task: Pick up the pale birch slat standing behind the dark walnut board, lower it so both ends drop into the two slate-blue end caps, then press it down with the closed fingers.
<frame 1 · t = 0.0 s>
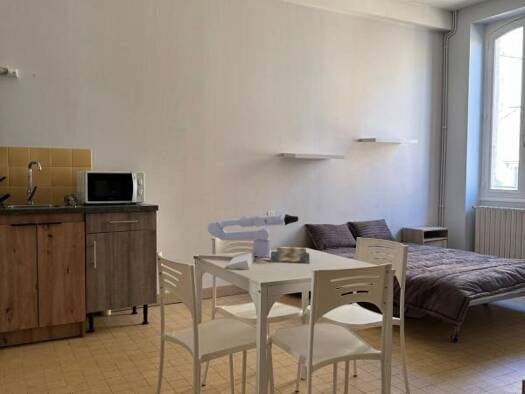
hand: (298, 219, 287), 22 cm above the table, tool horizontal, fingers open, 7 cm apart
slat: (291, 258, 285), on the table
decorative molding: (241, 265, 263), on the table
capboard: (290, 261, 274), on the table
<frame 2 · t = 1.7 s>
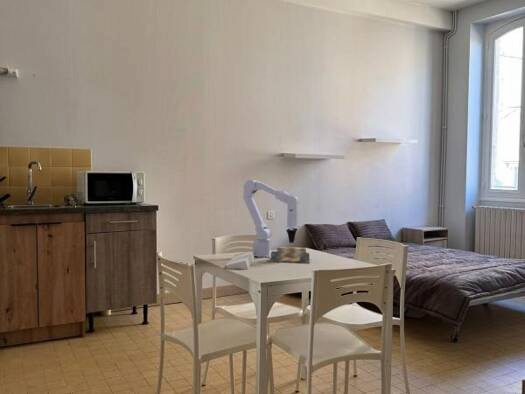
hand: (291, 242, 285), 9 cm above the table, tool pointing down, fingers open, 7 cm apart
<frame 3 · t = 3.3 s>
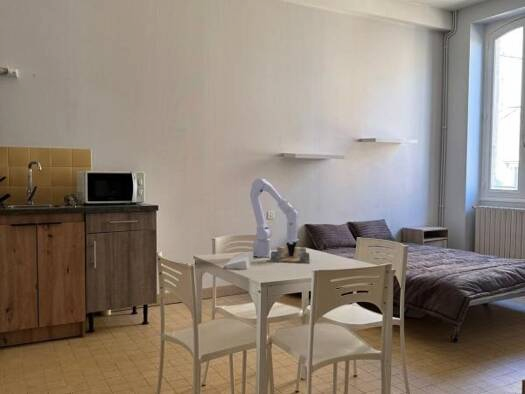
hand: (291, 255, 285), 1 cm above the table, tool pointing down, fingers closed on slat, 2 cm apart
slat: (291, 258, 285), on the table, touching gripper
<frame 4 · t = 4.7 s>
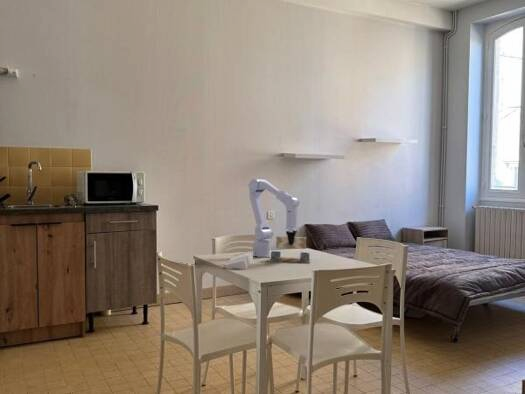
hand: (291, 244, 278), 8 cm above the table, tool pointing down, fingers closed on slat, 2 cm apart
slat: (291, 248, 278), point 6 cm above the table, touching gripper
when the fingers open (3 cm above the table, at t = 6.4 s): slat stays where it is, resting on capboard.
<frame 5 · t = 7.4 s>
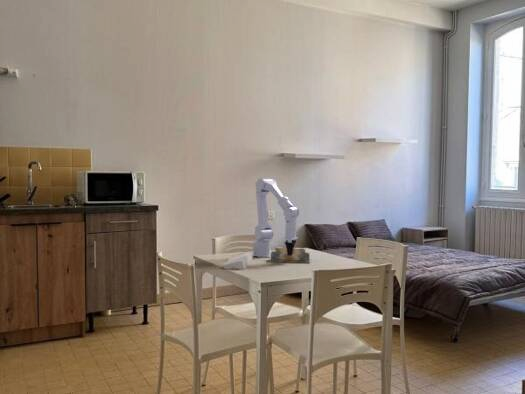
hand: (290, 254, 274), 4 cm above the table, tool pointing down, fingers open, 7 cm apart
slat: (290, 259, 274), point 1 cm above the table, touching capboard
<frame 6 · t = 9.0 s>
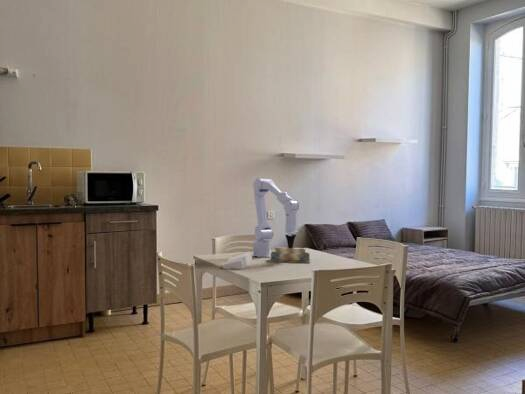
hand: (290, 248, 274), 7 cm above the table, tool pointing down, fingers closed, pressing on slat
slat: (290, 259, 274), point 1 cm above the table, touching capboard, gripper
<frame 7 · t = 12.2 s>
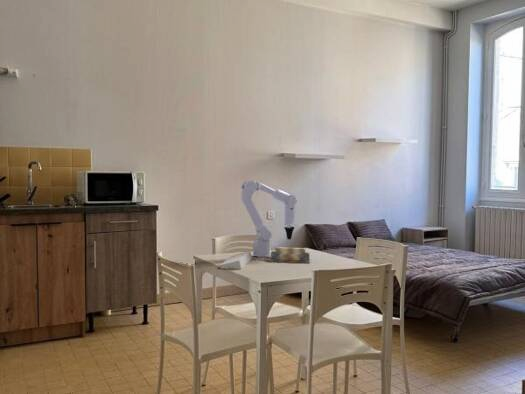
hand: (289, 239, 294), 9 cm above the table, tool pointing down, fingers closed
slat: (290, 259, 274), point 1 cm above the table, touching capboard
at the end: slat 0.1 cm off-centre on the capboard, point 1.0 cm above the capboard's base; slat tilted 0°; the gripper is holding nothing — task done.
